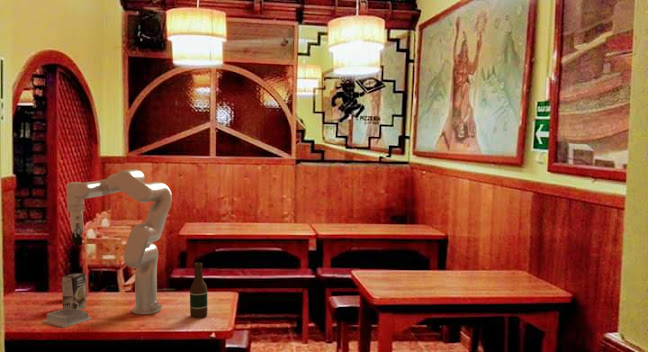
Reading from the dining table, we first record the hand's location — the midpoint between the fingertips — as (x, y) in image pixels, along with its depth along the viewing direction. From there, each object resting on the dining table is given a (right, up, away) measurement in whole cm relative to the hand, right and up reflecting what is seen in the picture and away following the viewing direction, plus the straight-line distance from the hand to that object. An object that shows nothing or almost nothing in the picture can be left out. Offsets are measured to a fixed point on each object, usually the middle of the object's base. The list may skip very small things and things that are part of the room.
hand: (77, 243), depth 276 cm
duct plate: (+6, -31, -23) cm, 39 cm away
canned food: (-4, -29, +11) cm, 31 cm away
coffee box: (+2, -30, -7) cm, 31 cm away
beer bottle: (+61, -31, -16) cm, 71 cm away
